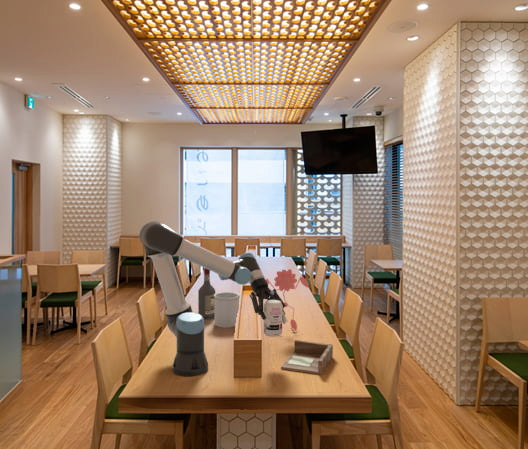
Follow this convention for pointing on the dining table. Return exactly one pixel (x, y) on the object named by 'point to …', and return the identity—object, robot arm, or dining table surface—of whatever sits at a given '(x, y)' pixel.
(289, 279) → the pink flat figure
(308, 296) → the dining table surface
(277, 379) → the dining table surface
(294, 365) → the corner tray
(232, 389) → the dining table surface
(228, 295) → the utensil holder
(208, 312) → the liquor
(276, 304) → the supplement can
